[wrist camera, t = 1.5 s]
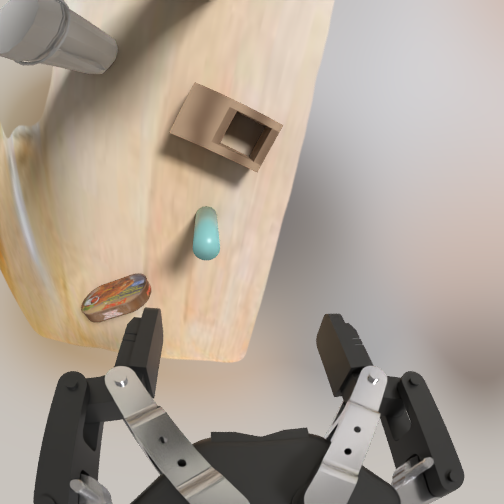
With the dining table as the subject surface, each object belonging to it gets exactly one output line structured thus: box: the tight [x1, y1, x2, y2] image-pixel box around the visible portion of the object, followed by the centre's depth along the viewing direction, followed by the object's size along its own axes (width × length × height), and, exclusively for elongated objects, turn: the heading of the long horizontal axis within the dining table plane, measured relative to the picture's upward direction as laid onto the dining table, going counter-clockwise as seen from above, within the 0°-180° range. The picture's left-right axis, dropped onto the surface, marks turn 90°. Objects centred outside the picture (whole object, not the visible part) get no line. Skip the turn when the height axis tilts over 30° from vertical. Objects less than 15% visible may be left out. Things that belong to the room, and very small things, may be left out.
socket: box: [169, 83, 283, 172], centre depth 40 cm, size 14×8×5 cm, turn 62°
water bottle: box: [0, 0, 118, 74], centre depth 22 cm, size 9×8×25 cm
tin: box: [81, 274, 151, 322], centre depth 48 cm, size 15×3×8 cm, turn 106°
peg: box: [193, 206, 220, 260], centre depth 43 cm, size 4×4×12 cm
